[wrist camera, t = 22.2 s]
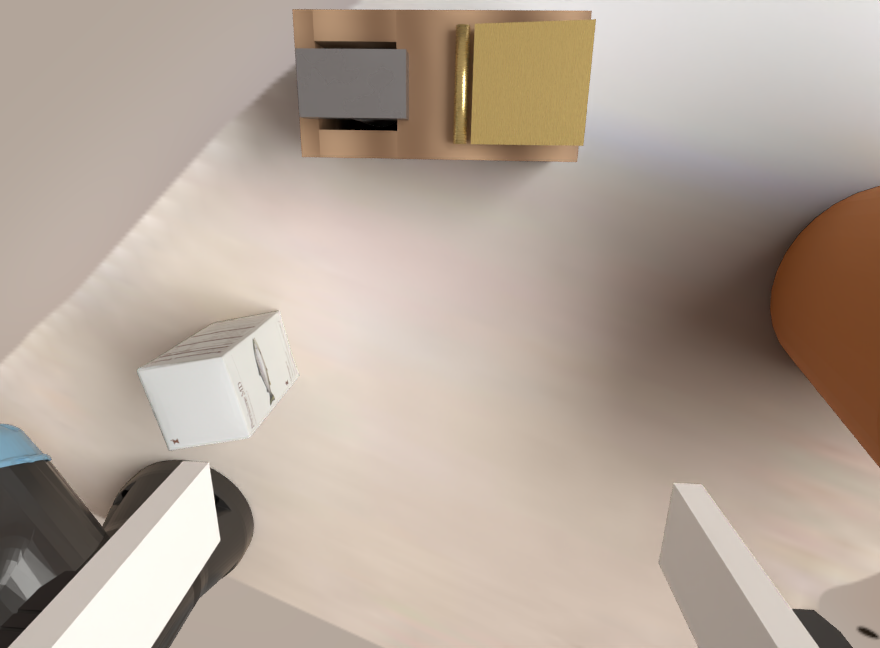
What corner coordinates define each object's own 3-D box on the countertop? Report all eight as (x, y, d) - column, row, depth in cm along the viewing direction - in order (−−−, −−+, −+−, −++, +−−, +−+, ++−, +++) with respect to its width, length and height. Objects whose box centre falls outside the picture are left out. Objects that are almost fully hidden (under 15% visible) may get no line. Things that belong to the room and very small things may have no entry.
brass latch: (451, 143, 34) (583, 145, 32) (454, 24, 31) (595, 19, 30) (454, 144, 34) (582, 145, 33) (457, 27, 32) (594, 23, 31)
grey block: (340, 126, 44) (299, 116, 33) (338, 75, 42) (295, 48, 32) (421, 127, 43) (406, 118, 33) (421, 76, 42) (406, 49, 31)
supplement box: (302, 376, 52) (252, 442, 40) (234, 386, 53) (165, 454, 41) (282, 307, 50) (223, 355, 38) (211, 319, 50) (131, 370, 38)
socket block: (337, 156, 45) (301, 156, 35) (332, 42, 42) (292, 9, 33) (553, 160, 44) (577, 161, 35) (563, 44, 41) (591, 10, 32)
